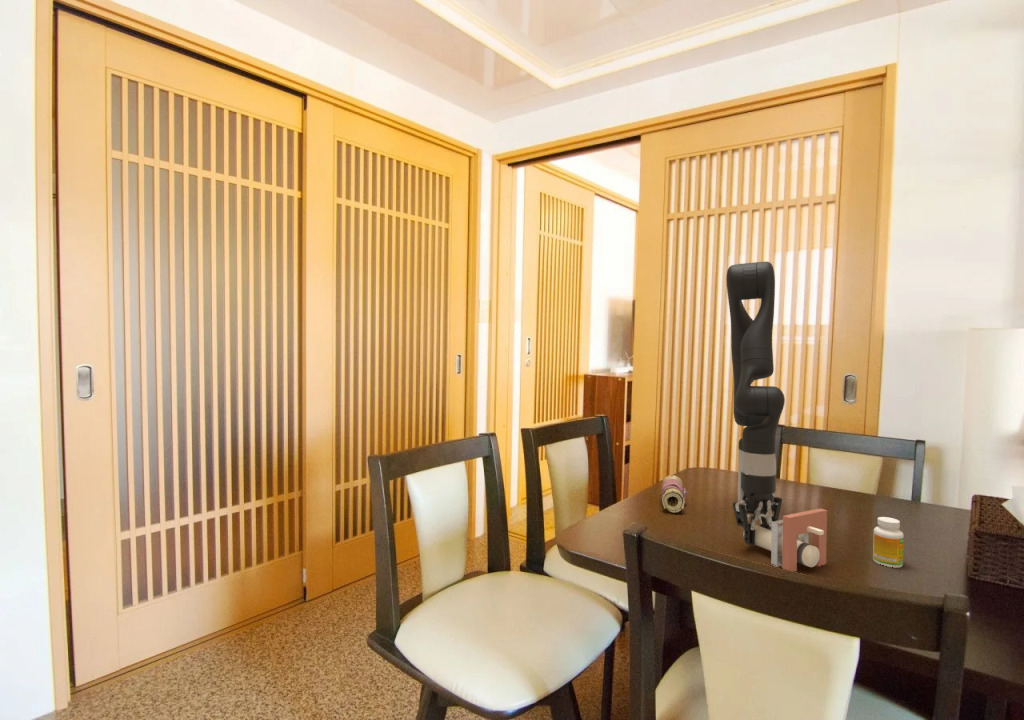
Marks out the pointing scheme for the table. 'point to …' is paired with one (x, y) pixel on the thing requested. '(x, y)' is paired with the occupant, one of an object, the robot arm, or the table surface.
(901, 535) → the supplement bottle
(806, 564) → the white long cylinder
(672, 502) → the scroll
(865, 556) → the table surface
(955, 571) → the table surface
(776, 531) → the grey u-shaped panel
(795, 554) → the wall
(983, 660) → the table surface
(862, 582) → the table surface
